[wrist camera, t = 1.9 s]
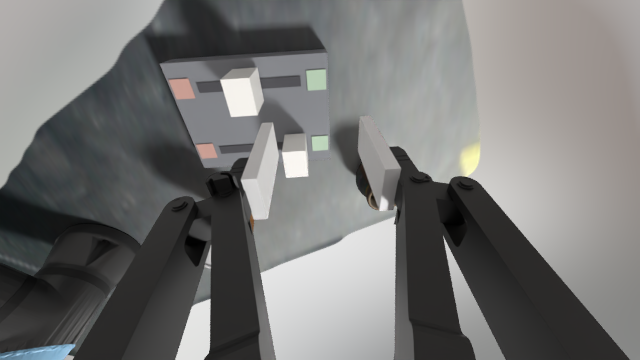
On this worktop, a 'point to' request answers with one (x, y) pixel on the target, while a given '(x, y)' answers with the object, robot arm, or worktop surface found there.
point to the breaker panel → (278, 107)
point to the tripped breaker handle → (243, 92)
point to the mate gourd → (365, 187)
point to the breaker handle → (295, 155)
